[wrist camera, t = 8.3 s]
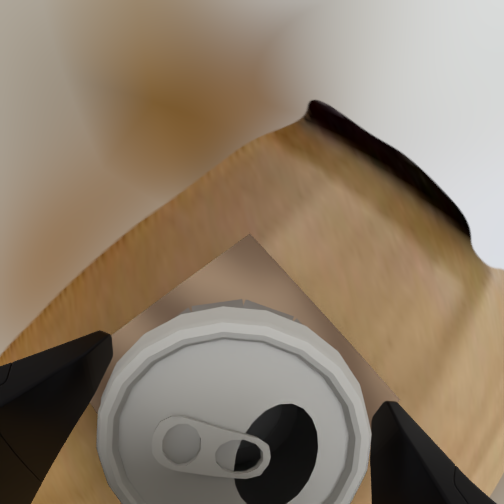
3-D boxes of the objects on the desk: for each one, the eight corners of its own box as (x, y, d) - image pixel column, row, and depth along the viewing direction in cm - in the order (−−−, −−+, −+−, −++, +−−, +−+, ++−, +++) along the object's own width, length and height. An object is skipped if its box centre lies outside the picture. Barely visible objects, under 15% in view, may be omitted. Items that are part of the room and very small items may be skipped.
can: (278, 469, 14) (345, 579, 3) (159, 440, 14) (56, 515, 3) (306, 360, 17) (421, 323, 6) (189, 331, 17) (118, 251, 6)
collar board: (221, 536, 12) (220, 554, 10) (77, 368, 16) (57, 365, 14) (391, 399, 17) (411, 400, 15) (249, 241, 21) (251, 222, 19)
